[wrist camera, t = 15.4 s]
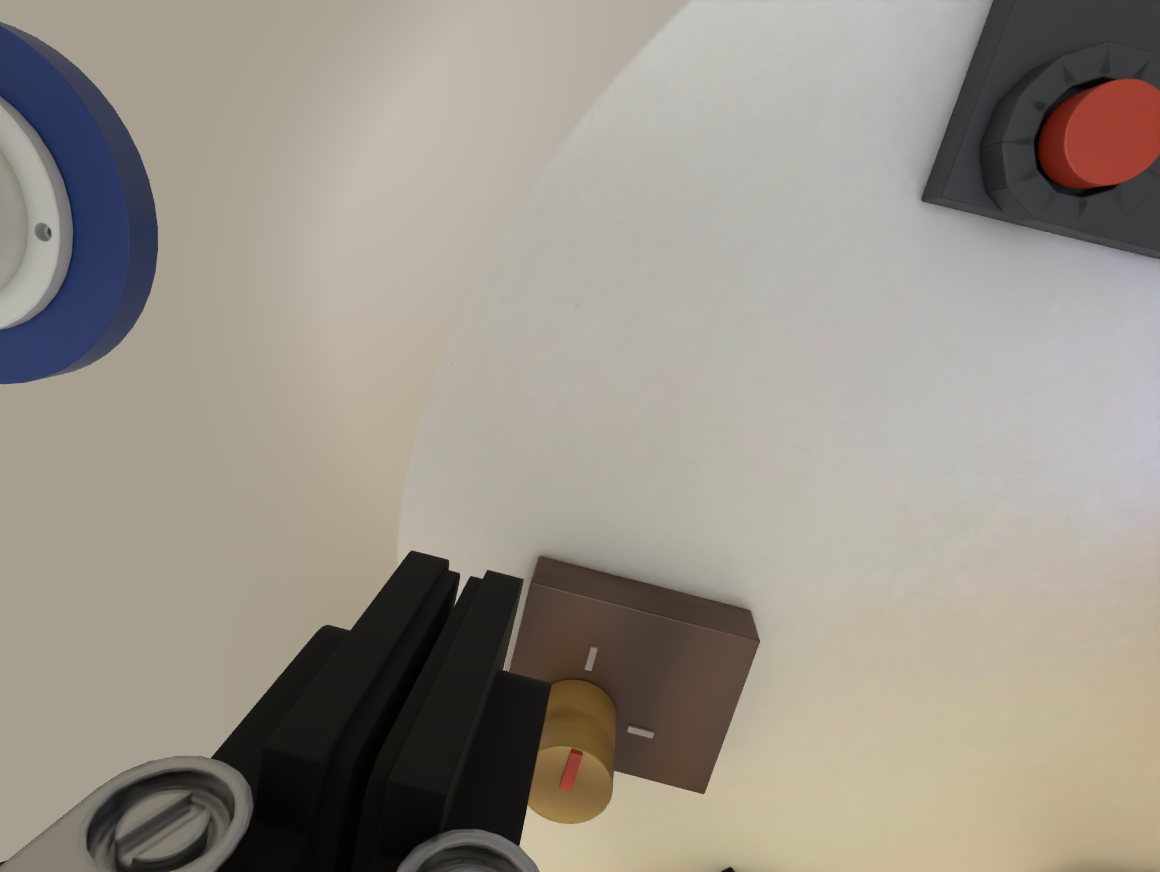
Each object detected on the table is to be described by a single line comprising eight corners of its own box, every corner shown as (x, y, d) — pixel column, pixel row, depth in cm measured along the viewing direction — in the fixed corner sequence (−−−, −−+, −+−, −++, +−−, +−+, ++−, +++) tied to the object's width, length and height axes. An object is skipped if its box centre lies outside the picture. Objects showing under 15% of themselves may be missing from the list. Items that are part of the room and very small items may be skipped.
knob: (603, 757, 36) (597, 840, 31) (526, 735, 37) (507, 814, 31) (626, 692, 35) (623, 767, 30) (546, 669, 35) (530, 740, 30)
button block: (918, 206, 30) (957, 200, 27) (1011, -50, 28) (1071, -98, 24) (1177, 270, 30) (1256, 273, 26) (1299, 18, 27) (1407, -19, 23)
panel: (494, 720, 40) (482, 759, 37) (534, 554, 37) (524, 581, 34) (693, 772, 40) (698, 815, 37) (751, 610, 37) (761, 642, 34)
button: (1021, 177, 27) (1047, 172, 25) (1061, 79, 26) (1091, 67, 24) (1111, 198, 26) (1142, 195, 25) (1154, 101, 25) (1190, 90, 24)
